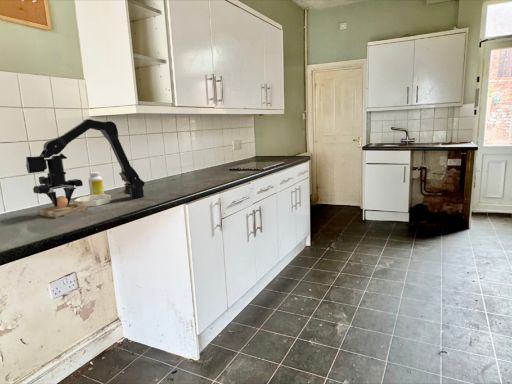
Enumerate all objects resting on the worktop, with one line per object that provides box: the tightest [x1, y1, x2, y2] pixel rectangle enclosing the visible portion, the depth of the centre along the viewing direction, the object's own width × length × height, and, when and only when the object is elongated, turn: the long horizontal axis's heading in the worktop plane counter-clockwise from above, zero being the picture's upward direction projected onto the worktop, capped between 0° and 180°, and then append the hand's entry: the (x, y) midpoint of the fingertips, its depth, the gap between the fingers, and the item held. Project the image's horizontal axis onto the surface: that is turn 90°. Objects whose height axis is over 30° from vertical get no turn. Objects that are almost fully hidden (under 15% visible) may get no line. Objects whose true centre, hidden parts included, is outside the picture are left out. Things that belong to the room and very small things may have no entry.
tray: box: [37, 202, 88, 219], centre depth 155 cm, size 14×14×2 cm
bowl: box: [73, 193, 112, 208], centre depth 169 cm, size 15×15×3 cm
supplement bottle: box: [88, 171, 105, 195], centre depth 186 cm, size 7×7×13 cm
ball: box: [56, 195, 68, 207], centre depth 154 cm, size 5×5×5 cm
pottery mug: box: [123, 182, 130, 195], centre depth 193 cm, size 12×10×8 cm
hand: (62, 205), depth 154 cm, fingers closed on ball, 5 cm apart
